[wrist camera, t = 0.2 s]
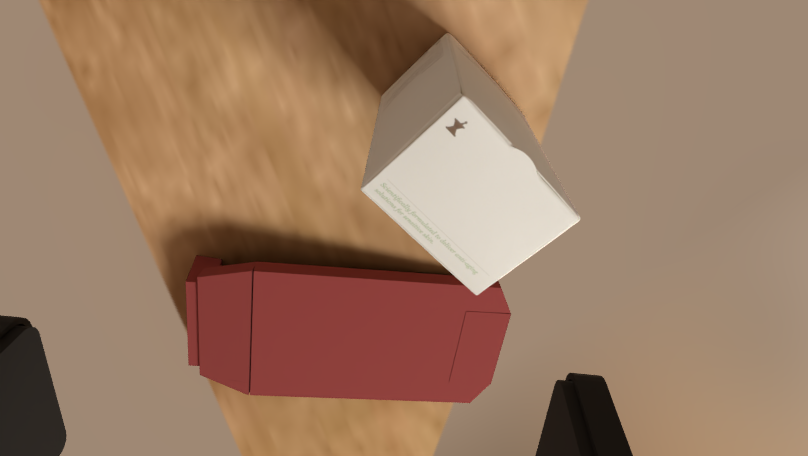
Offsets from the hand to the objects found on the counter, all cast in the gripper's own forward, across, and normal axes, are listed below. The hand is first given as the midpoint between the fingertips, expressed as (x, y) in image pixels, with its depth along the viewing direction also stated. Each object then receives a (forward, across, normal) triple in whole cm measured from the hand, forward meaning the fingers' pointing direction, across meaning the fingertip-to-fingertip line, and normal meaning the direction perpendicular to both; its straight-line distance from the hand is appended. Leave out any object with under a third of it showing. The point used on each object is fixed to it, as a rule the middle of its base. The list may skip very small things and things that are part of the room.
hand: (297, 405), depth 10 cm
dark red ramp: (+31, +3, +22) cm, 38 cm away
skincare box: (+31, -4, +3) cm, 31 cm away
